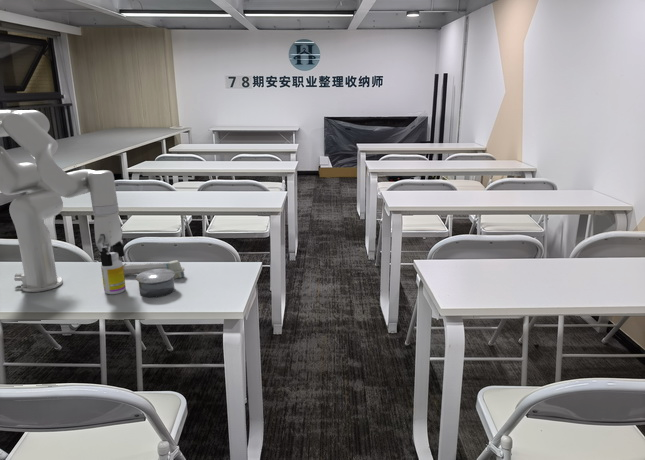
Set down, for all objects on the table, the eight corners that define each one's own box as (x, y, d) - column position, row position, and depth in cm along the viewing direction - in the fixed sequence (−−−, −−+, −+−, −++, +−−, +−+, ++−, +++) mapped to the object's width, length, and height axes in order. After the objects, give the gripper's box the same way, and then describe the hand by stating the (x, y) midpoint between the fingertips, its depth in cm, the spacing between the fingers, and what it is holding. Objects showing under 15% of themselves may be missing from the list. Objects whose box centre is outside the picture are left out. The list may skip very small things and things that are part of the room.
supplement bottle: (130, 289, 171) (126, 252, 167) (114, 296, 165) (110, 258, 161) (115, 286, 173) (111, 250, 170) (99, 293, 167) (94, 255, 164)
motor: (132, 298, 163) (130, 281, 162) (146, 283, 176) (144, 267, 174) (169, 298, 163) (168, 281, 161) (181, 283, 176) (179, 267, 174)
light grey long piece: (118, 262, 185) (183, 255, 182) (123, 279, 187) (187, 273, 183) (111, 267, 180) (178, 260, 177) (116, 285, 182) (182, 278, 178)
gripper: (105, 204, 170) (113, 253, 174) (81, 216, 153) (90, 270, 158) (127, 203, 170) (134, 252, 174) (106, 215, 153) (114, 269, 158)
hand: (113, 260), depth 166 cm, fingers open, 9 cm apart
